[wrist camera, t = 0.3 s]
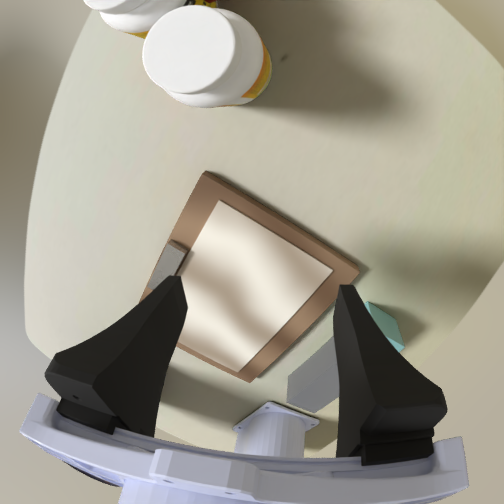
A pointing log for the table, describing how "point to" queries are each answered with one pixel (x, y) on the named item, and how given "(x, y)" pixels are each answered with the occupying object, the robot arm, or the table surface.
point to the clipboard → (245, 278)
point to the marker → (331, 368)
